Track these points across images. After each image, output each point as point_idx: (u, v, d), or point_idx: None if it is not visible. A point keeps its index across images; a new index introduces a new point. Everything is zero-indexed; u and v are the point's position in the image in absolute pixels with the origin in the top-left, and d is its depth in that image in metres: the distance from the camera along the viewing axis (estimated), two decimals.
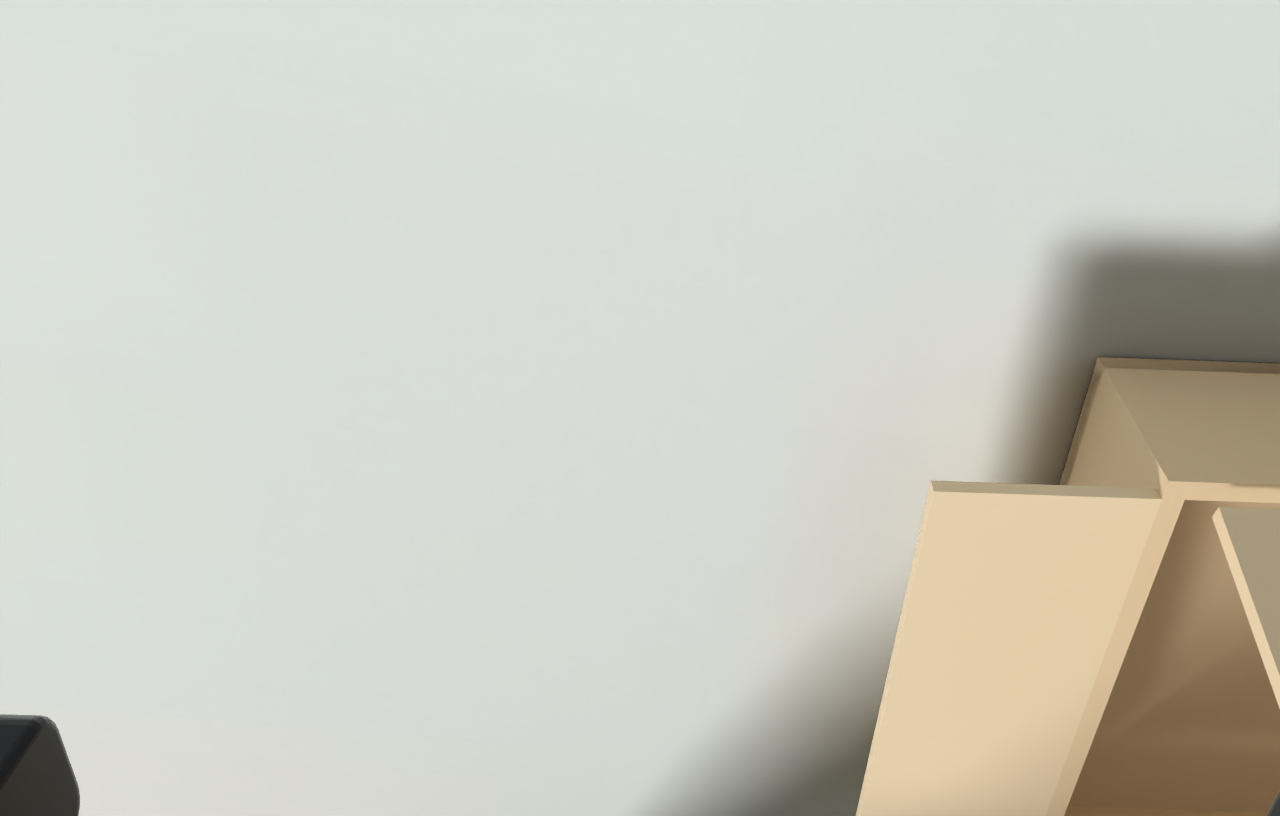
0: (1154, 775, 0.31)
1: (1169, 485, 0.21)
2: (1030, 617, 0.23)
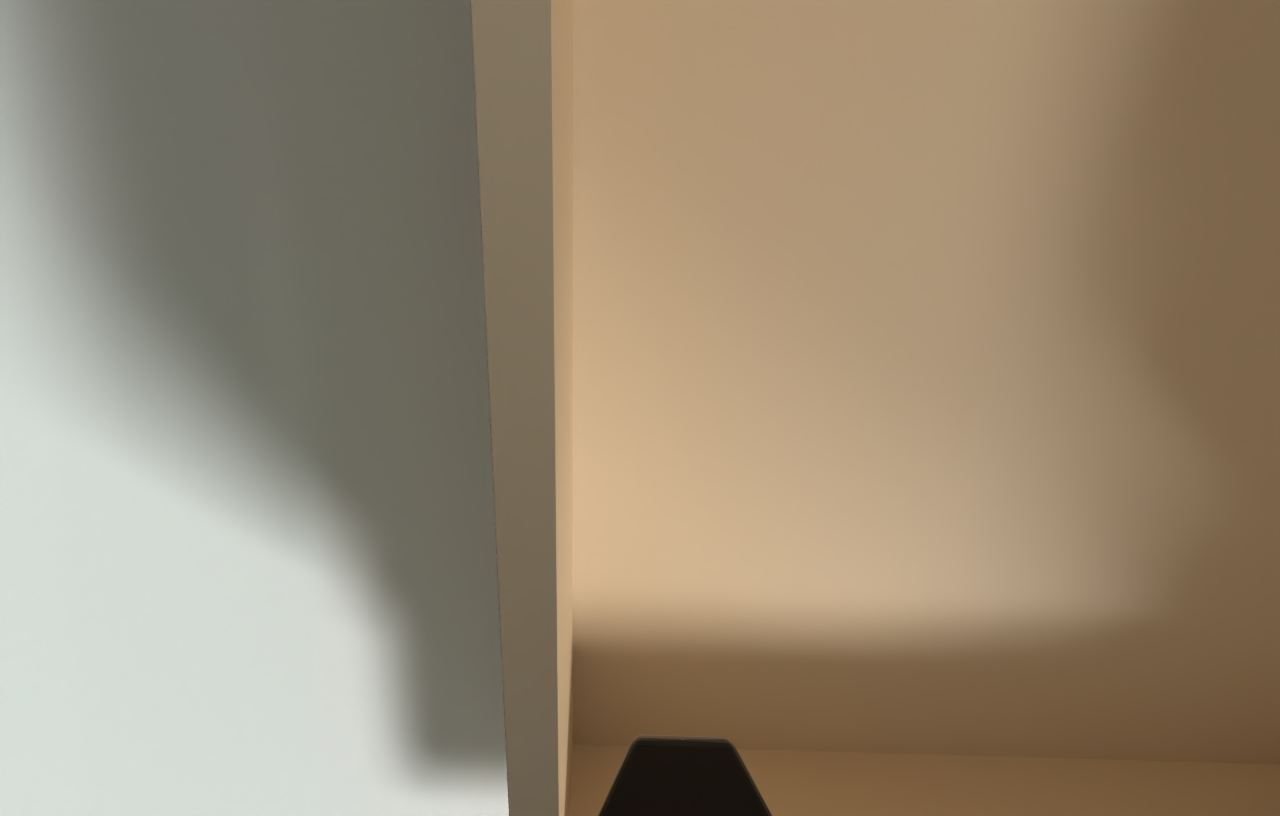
0: None
1: None
2: None
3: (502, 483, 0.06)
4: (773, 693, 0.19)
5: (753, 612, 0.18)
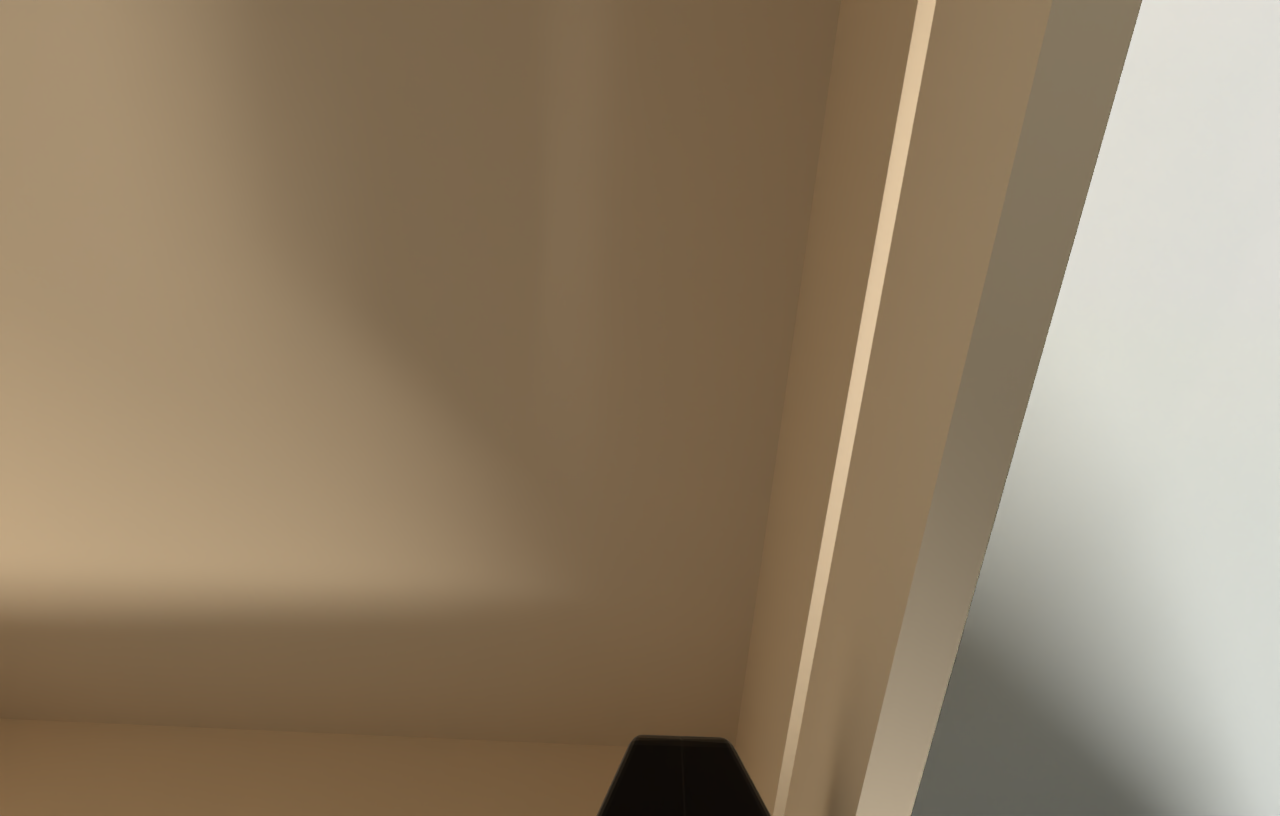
0: (668, 559, 0.17)
1: None
2: None
3: None
4: (101, 665, 0.19)
5: (42, 580, 0.18)
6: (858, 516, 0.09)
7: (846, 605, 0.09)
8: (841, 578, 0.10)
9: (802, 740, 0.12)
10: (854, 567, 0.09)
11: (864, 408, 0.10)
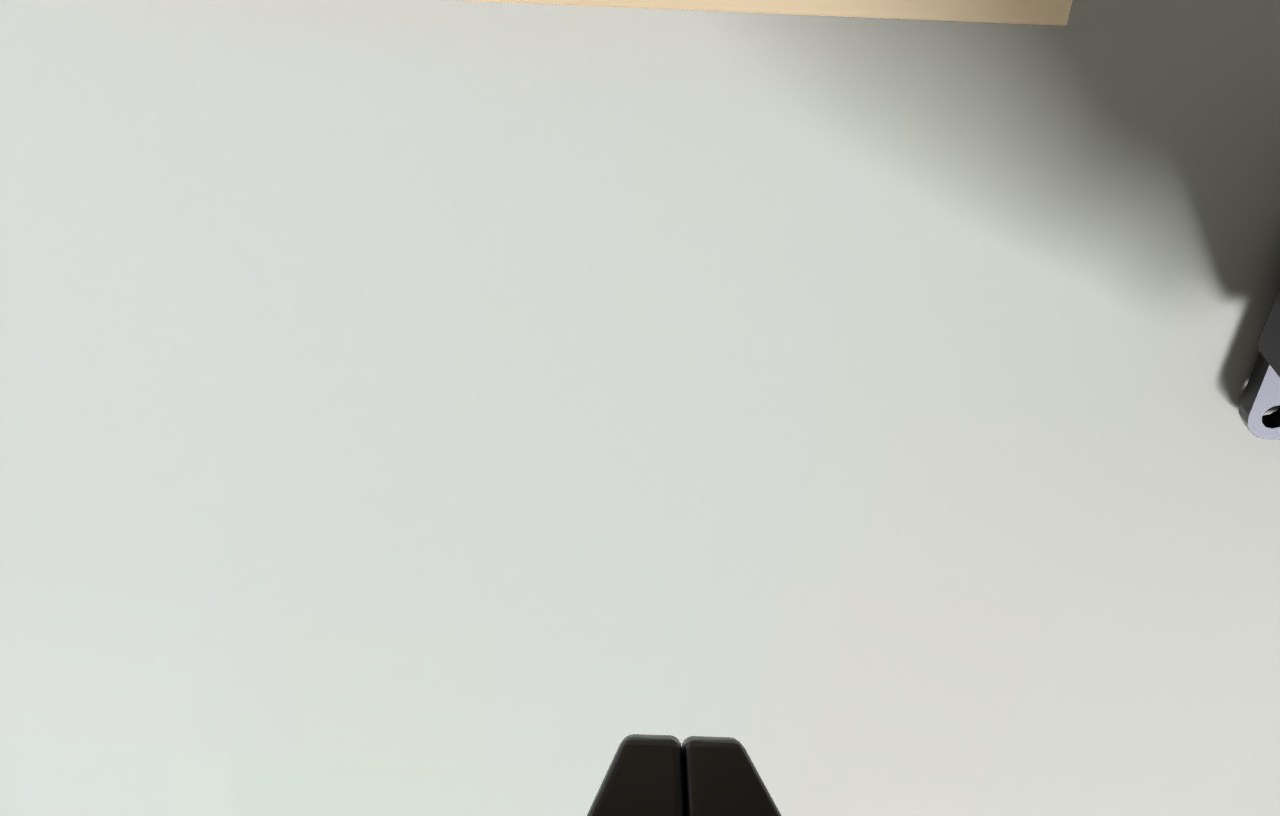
0: None
1: None
2: None
3: None
4: None
5: None
6: None
7: None
8: None
9: None
10: None
11: None
